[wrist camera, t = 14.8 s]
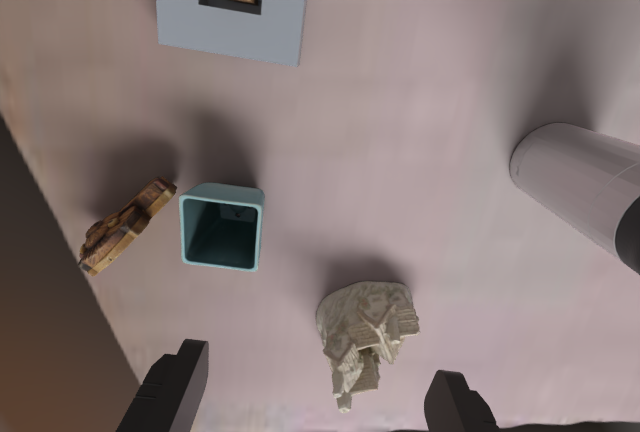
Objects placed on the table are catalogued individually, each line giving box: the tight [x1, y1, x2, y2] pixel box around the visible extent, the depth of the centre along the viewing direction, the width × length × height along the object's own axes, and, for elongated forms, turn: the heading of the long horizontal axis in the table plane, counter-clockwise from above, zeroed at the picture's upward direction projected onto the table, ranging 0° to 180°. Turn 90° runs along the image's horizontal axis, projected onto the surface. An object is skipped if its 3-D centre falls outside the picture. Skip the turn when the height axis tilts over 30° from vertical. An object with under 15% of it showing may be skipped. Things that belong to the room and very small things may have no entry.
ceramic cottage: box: [316, 281, 420, 413], centre depth 48 cm, size 16×16×15 cm
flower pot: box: [179, 182, 265, 272], centre depth 41 cm, size 9×9×9 cm
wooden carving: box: [78, 176, 177, 276], centre depth 41 cm, size 16×5×10 cm, turn 135°
